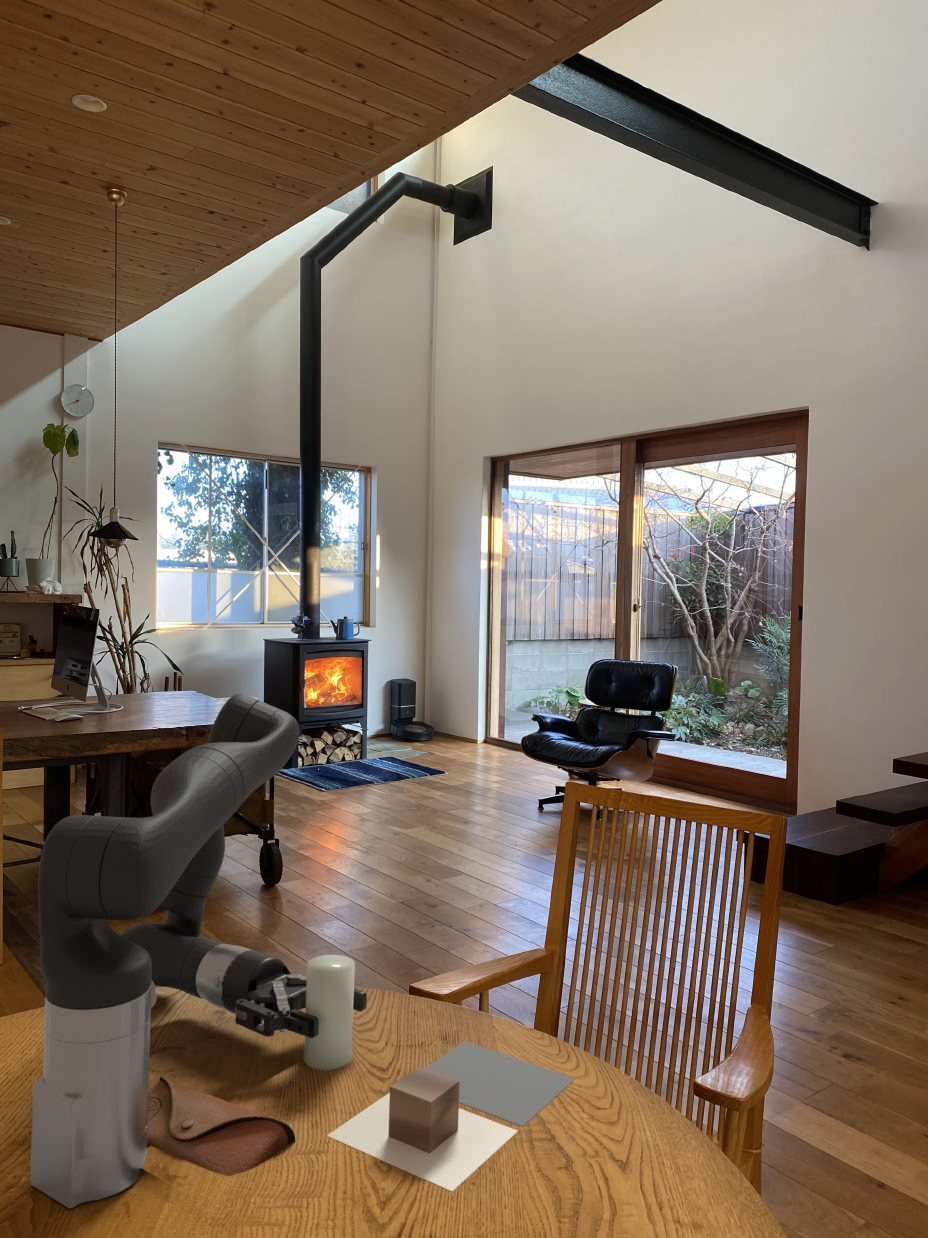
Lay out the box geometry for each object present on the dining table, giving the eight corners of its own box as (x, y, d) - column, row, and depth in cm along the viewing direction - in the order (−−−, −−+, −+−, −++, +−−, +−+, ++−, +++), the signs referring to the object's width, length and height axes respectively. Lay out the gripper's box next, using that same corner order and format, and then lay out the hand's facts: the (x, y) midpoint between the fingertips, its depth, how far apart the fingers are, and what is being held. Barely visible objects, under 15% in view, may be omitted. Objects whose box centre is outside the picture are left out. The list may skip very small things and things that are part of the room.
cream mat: (451, 1202, 84) (452, 1191, 84) (326, 1145, 92) (326, 1135, 92) (517, 1141, 94) (518, 1131, 94) (399, 1094, 102) (399, 1085, 102)
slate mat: (522, 1136, 95) (523, 1126, 95) (405, 1090, 103) (405, 1082, 103) (574, 1087, 105) (575, 1078, 105) (464, 1049, 113) (464, 1041, 113)
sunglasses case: (97, 1140, 91) (126, 1067, 94) (143, 1146, 97) (169, 1077, 100) (239, 1198, 83) (266, 1116, 86) (280, 1201, 89) (304, 1124, 92)
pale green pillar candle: (330, 1083, 104) (333, 976, 104) (293, 1069, 107) (297, 965, 107) (360, 1064, 108) (364, 962, 108) (325, 1050, 111) (328, 951, 111)
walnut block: (429, 1154, 89) (431, 1102, 89) (388, 1136, 92) (389, 1086, 92) (458, 1130, 93) (459, 1081, 93) (417, 1114, 96) (419, 1066, 96)
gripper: (281, 992, 121) (378, 1025, 113) (196, 1031, 109) (297, 1072, 101) (283, 935, 121) (380, 964, 112) (198, 968, 109) (299, 1004, 101)
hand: (341, 1015), depth 107 cm, fingers open, 8 cm apart
